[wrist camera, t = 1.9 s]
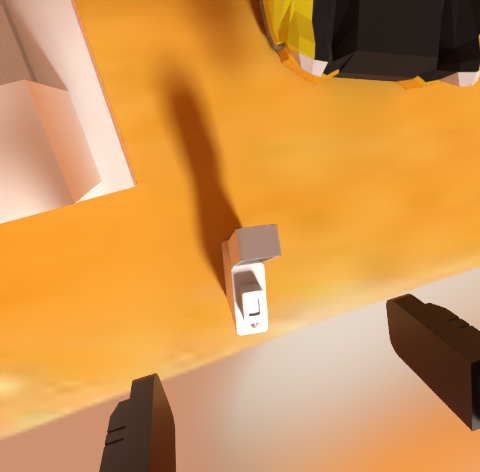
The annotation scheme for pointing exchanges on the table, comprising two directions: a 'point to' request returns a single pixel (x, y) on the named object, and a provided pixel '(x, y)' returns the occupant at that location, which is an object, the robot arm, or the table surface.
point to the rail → (12, 51)
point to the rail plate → (74, 81)
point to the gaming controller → (377, 39)
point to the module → (41, 151)
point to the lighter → (249, 275)
